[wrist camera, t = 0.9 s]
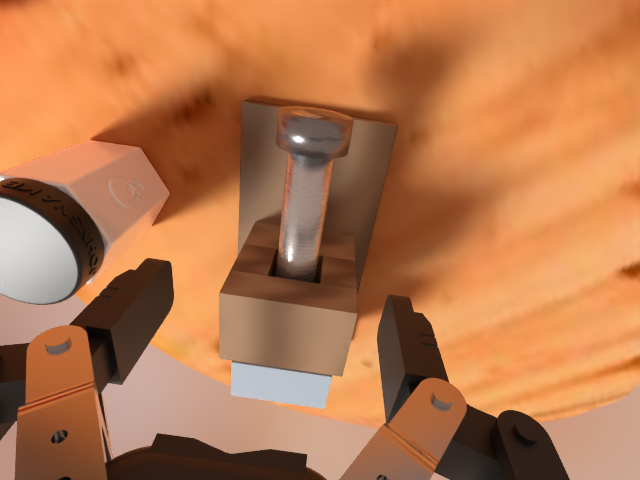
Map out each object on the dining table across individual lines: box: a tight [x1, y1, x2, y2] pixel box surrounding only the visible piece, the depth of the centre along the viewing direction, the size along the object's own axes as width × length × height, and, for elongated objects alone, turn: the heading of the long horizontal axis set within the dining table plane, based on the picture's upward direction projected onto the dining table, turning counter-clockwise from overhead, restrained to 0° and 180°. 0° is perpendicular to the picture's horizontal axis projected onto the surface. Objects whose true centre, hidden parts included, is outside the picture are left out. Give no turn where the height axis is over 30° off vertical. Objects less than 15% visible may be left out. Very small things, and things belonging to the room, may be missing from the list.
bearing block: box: [219, 100, 398, 376], centre depth 29 cm, size 12×24×12 cm, turn 172°
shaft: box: [276, 106, 354, 283], centre depth 27 cm, size 24×5×5 cm, turn 172°
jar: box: [0, 140, 170, 305], centre depth 27 cm, size 9×8×12 cm
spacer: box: [231, 360, 332, 409], centre depth 32 cm, size 8×4×8 cm, turn 82°
